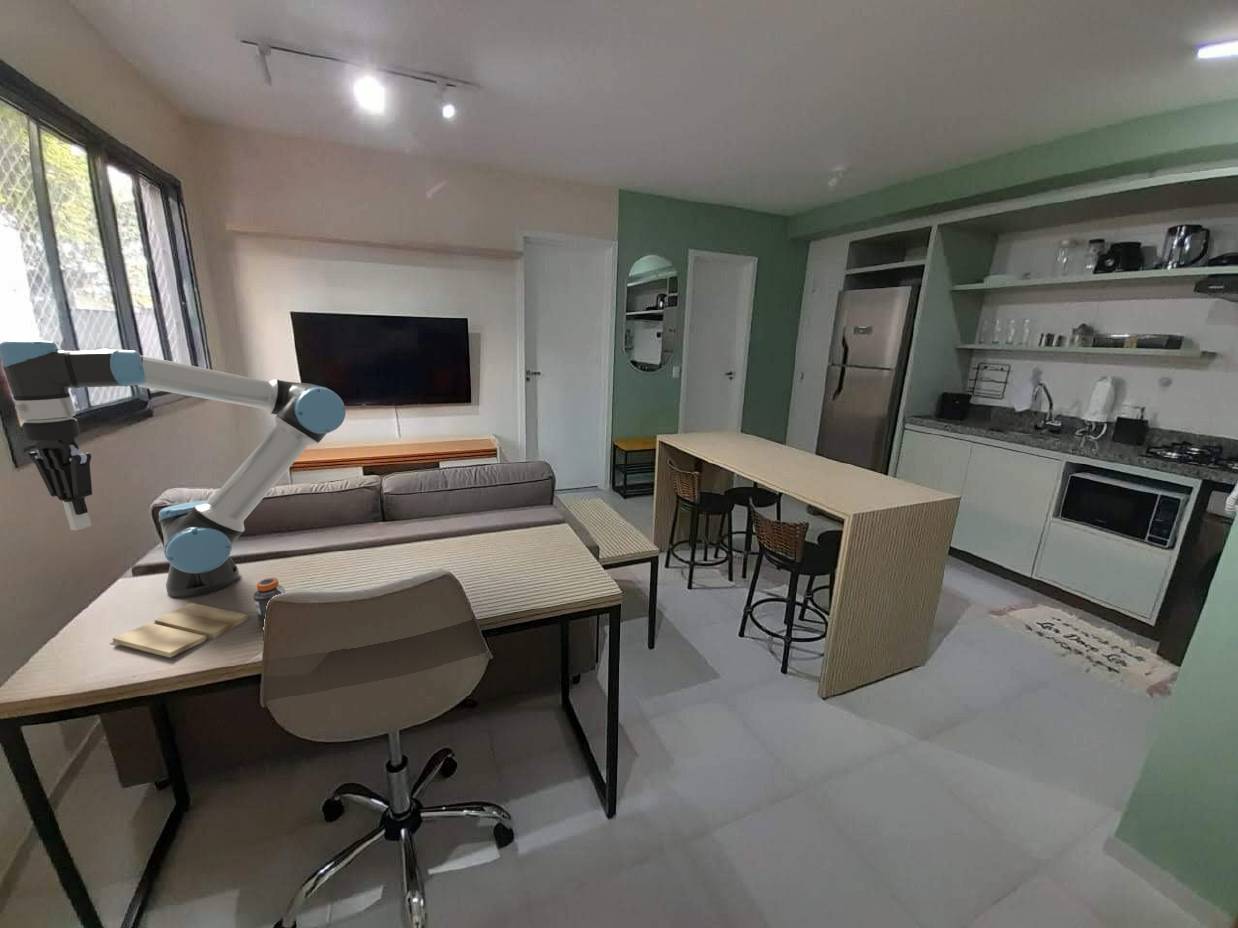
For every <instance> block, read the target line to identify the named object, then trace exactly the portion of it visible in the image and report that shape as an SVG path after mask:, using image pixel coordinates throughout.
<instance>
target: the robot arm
mask: <svg viewBox="0 0 1238 928" xmlns="http://www.w3.org/2000/svg"><path fill="white" fill-rule="evenodd" d="M0 358H1V363H2V365H1V367H2V369H3V371H4V375H5V378H6V380H7V383H8V386H9V390H10V391H11V392H10V393H11V396H12V398H13V400H14V403H15V406H14V409H15V410H16V411H17V413H18V416H19V419H20V420H22V421H23V422H22V423H21V427H22V430H23V434H24V438H25V439H26V440H27V441H29V442H35V448H36V450H35V451H30V452H28V457H29V459H31V461H32V462H33V464H34V465H35V466H36V468H37V471H38V472H39V474H40V477H41V478H42V480H43V482H44V485H45V486H46V488H47V491H48V492H49V494H50V496H51V497H53V498H54V497H57V498H58V500H60V501H62V505H63V508H64V512H65V515H66V518H67V522H68V525H69V529H70V530H71V531H79V530H82V529H85V528H89V527H92V522H91V518H90V515H89V512H88V511H89V510H88V507H87V503H86V499H85V498H87V497H90V496H92V495H93V487H92V485H93V484H92V475H91V466H90V465H91V459H92V454H91V453H90V452H84V453H83V452H82V451H80V449H79V444H77V442H76V440H75V439H76V438H77V437H79V436H81V433H82V432H81V429H80V426H79V422H78V419H76V418H75V417H74V416H76V411H75V407H74V403H73V400H72V397H71V394H70V392H69V391H70V390H69V389H79V388H80V389H81V388H105V387H106V388H107V387H108V388H109V387H130V386H131V387H136V388H137V387H139V388H144V389H149V390H156V391H161V392H165V393H172V394H177V395H183V396H189V397H195V398H199V399H207V400H211V401H216V402H217V401H218V402H222V403H228V404H233V405H241V406H246V407H250V408H251V407H252V408H255V409H263V410H265V412H266V413H268V414H270V415H275V417H274V419H275V423H276V425H275V427H273V429H272V430H271V431H270V433H268V434H267V435H266V437H264V439H263V440H262V441H261V442H260V443H259V444H258V446H257V447H256V448H254V450H253V451H252V452H251V454H249V456H248V457H247V458H246V459H245V460H244V461H243V463H242V464H241V465H240V466H239V467H238V468H237V470H235V472H234V473H232V475H231V476H230V477H229V478H228V479H227V481H226V482H225V483H223V484H222V486H221V487H220V488H219V490H218V491H216V492H215V494H214V495H213V496H212V498H211V499H209V500H198V501H189V502H184V503H178V504H173V505H169V506H167V507H166V506H165V507H164V508H162V509H160V510H159V512H158V522H159V524H160V527H161V533H162V535H163V547H164V549H163V550H164V551H163V553H164V556H165V558H166V559H167V561H168V562H169V569H168V574H167V579H166V583H165V588H166V592H167V595H168V596H169V597H171V598H175V599H189V598H197V597H202V596H207V595H210V594H213V593H216V592H219V591H222V590H224V589H227V588H229V587H230V586H232V585H233V584H235V583H236V582H238V580H239V579H240V577H241V576H240V571H239V568H238V566H237V565H236V564H235V562H234V561H233V559H232V558H231V556H230V555H231V552H232V549H233V548H232V545H233V544H234V543H235V542H236V541H237V539H239V537H241V535H242V534H243V532H244V531H245V530H246V529H245V524H244V521H245V520H246V519H247V518H248V516H249V515H250V514H251V513H252V512H253V511H254V509H255V508H256V507H257V506H258V505H259V504H260V502H261V501H263V499H264V497H266V495H267V494H269V492H270V490H271V489H272V488H273V487H274V486H275V484H277V483H278V482H279V480H280V479H281V478H282V477H283V475H285V474H286V472H287V471H288V470H289V469H290V467H292V465H293V464H295V461H297V459H298V458H299V457H300V456H301V455H302V453H303V452H304V451H305V450H306V448H307V447H309V446H313V445H318V444H319V443H320V442H321V441H322V440H323V439H324V438H325V436H326V435H327V434H328V433H332V432H334V431H335V430H337V429H339V427H340V426H341V425H342V424H343V423H344V421H345V418H346V411H347V410H346V407H345V404H344V401H343V400H342V398H341V396H339V395H338V394H337V393H336V392H335V391H333V390H332V389H329V388H328V387H325V386H320V385H317V384H315V383H307V382H306V383H304V382H293V381H287V380H280V379H276V378H274V379H272V380H270V381H268V380H263V379H258V378H253V377H249V376H244V375H239V374H235V373H229V372H224V371H220V370H214V369H210V368H204V367H200V366H195V365H192V364H191V365H190V364H185V363H180V362H176V361H171V360H167V359H166V360H165V359H162V358H155V357H152V356H148V355H141V354H140V352H138V351H137V350H134V349H133V350H130V349H129V350H127V349H117V348H112V347H107V346H106V347H97V348H94V349H92V350H73V351H72V350H63V349H62V350H60V349H59V348H58V346H57V345H56V342H54V341H51V340H7V341H2V342H1V343H0Z"/></svg>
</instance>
